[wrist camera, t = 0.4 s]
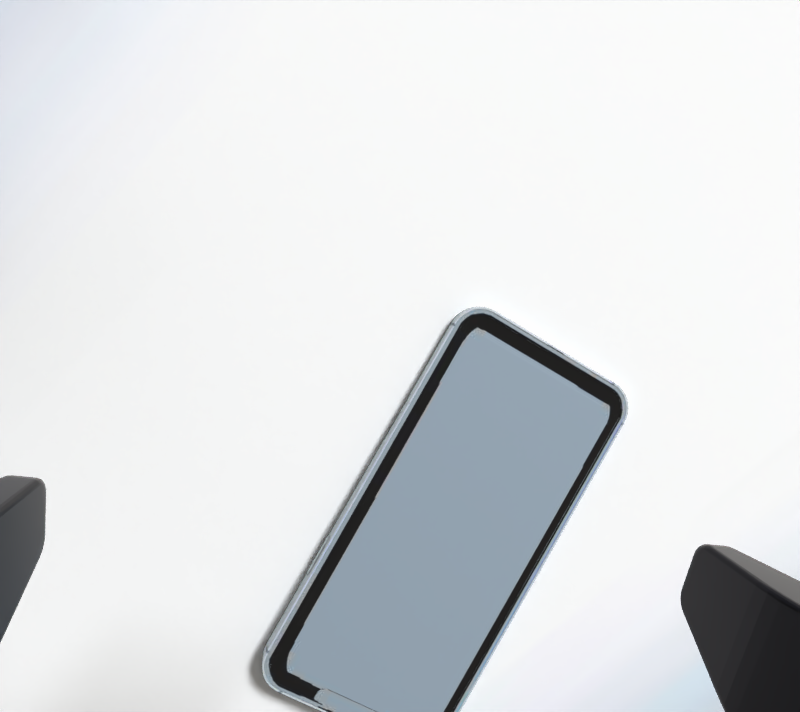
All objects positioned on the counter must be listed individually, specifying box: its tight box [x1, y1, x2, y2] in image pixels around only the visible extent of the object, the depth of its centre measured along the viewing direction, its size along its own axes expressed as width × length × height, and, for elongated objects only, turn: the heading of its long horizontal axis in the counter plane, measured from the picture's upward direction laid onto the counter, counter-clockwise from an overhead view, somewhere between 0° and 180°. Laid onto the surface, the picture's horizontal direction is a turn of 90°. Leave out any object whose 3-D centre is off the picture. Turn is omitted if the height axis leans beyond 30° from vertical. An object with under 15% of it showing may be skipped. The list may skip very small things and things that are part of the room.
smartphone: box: [262, 307, 628, 712], centre depth 24 cm, size 7×1×15 cm
